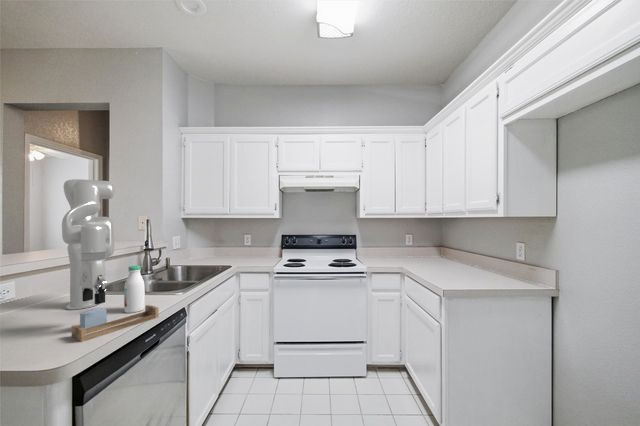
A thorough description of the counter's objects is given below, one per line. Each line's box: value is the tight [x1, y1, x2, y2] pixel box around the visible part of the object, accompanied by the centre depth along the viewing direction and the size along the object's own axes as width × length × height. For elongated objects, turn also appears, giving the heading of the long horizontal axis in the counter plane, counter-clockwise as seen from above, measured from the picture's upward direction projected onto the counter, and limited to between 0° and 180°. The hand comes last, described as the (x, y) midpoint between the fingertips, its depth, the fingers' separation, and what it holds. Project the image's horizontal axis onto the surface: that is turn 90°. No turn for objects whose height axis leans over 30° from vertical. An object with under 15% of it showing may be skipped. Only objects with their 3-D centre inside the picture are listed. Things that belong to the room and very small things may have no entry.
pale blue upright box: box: [79, 307, 108, 329], centre depth 109 cm, size 4×7×6 cm, turn 151°
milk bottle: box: [123, 264, 146, 314], centre depth 127 cm, size 8×8×20 cm
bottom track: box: [71, 304, 160, 343], centre depth 109 cm, size 8×26×4 cm, turn 151°
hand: (93, 301), depth 108 cm, fingers open, 9 cm apart
